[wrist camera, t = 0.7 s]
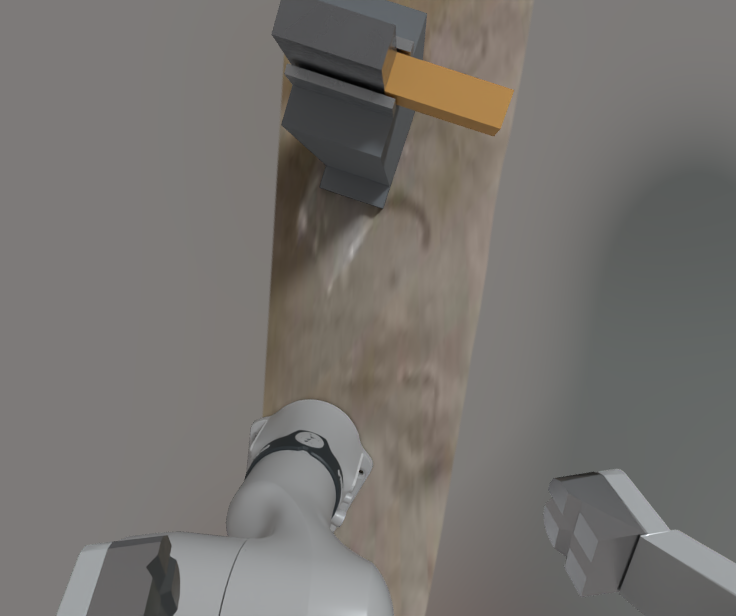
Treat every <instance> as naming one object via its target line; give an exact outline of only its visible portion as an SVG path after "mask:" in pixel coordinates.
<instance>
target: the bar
mask: <svg viewBox="0 0 736 616" xmlns="http://www.w3.org/2000/svg"><path fill="white" fill-rule="evenodd" d="M272 36H273V37H274V39H275V40H276V42H277V43H278V45H279V46H280V48H281V49H282V51H283V52H284V54H285V55H286V57H287V58H288V60H289V61H290V63H291V64H292V65H293V66H296V67H300V68H303V69H306V70H309V71H312V72H315V73H318V74H321V75H324V76H327V77H330V78H333V79H336V80H339V81H342V82H345V83H349V84H352V85H355V86H358V87H361V88H364V89H367V90H370V91H373V92H376V93H379V94H382V95H385V96H388V97H391V98H394V99H396V105H399V106H402V107H405V108H408V109H411V110H414V111H417V112H420V113H423V114H426V115H430V116H433V117H436V118H439V119H442V120H445V121H448V122H451V123H454V124H457V125H460V126H463V127H466V128H469V129H472V130H475V131H478V132H481V133H485V134H488V135H491V136H495V134H496V133H497V132H498V131H499V130H500V129H501V126H502V123H503V120H504V117H505V115H506V112H507V109H508V106H509V103H510V101H511V98H512V95H513V92H514V90H512V89H509V88H506V87H503V86H500V85H497V84H494V83H491V82H488V81H485V80H481V79H478V78H475V77H472V76H469V75H466V74H463V73H460V72H457V71H454V70H451V69H447V68H444V67H441V66H438V65H435V64H432V63H429V62H426V61H423V60H420V59H417V58H414V57H410V56H407V55H404V54H401V53H398V52H397V42H396V25H394V24H390V23H387V22H384V21H381V20H378V19H375V18H372V17H369V16H366V15H363V14H359V13H356V12H353V11H350V10H347V9H344V8H341V7H338V6H335V5H332V4H328V3H325V2H322V1H319V0H281V2H280V6H279V10H278V13H277V16H276V20H275V24H274V27H273V31H272Z"/></svg>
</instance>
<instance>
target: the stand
mask: <svg viewBox="0 0 736 616" xmlns="http://www.w3.org/2000/svg"><path fill="white" fill-rule="evenodd" d="M319 1H322V2H325V3H328V4H332V5H335V6H338V7H341V8H344V9H347V10H350V11H353V12H356V13H359V14H363V15H366V16H369V17H372V18H375V19H378V20H381V21H384V22H387V23H390V24H394V25H396V42H397V52H398V53H401V54H404V55H407V56H410V57H414V58H417V59H420V60H423V51H424V40H425V29H426V18H427V13H424V12H421V11H418V10H415V9H412V8H409V7H406V6H402V5H399V4H396V3H393V2H390V1H387V0H319ZM284 74H285V75H286V77H287V78H288V79H289V81H290V82H291V83H292V85H293V86H292V90H291V93H290V97H289V100H288V103H287V107H286V110H285V114H284V117H283V121H282V124H281V125H282V126H283V127H284V128H285V129H286V130H288V131H289V132H290V133H291V134H292V135H293V136H294V137H295V138H296V139H298V140H299V141H300V142H301V143H302V144H303V145H304V146H305V147H306V148H307V149H309V150H310V151H311V152H312V153H313V154H314V155H315V156H316V157H317V158H319V159H320V160H321V161H322V162H323V163H324V164H325V165H326V167H325V171H324V174H323V177H322V180H321V184H320V188H322V189H325V190H328V191H331V192H334V193H337V194H340V195H343V196H346V197H349V198H352V199H355V200H358V201H361V202H364V203H367V204H370V205H373V206H376V207H379V208H382V209H383V208H384V205H385V201H386V198H387V195H388V192H389V189H390V186H391V183H392V180H393V177H394V174H395V171H396V168H397V165H398V162H399V159H400V156H401V153H402V150H403V147H404V144H405V141H406V138H407V135H408V131H409V128H410V125H411V122H412V119H413V116H414V113H415V111H414V110H411V109H408V108H405V107H402V106H399V105H396V99H394V98H391V97H388V96H385V95H382V94H379V93H376V92H373V91H370V90H367V89H364V88H361V87H358V86H355V85H352V84H349V83H345V82H342V81H339V80H336V79H333V78H330V77H327V76H324V75H321V74H318V73H315V72H312V71H309V70H306V69H303V68H300V67H296V66H293V65H290V64H287V66H286V70H285V73H284Z"/></svg>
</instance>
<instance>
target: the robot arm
mask: <svg viewBox="0 0 736 616" xmlns="http://www.w3.org/2000/svg"><path fill="white" fill-rule="evenodd" d="M256 434H258V435H257V436H256ZM372 467H373V461H372V459H371V457H370V456H369V455H368V453H367V452H366V451H365V450H364V449H363V447H362V445H361V442H360V438H359V435H358V432H357V429H356V427H355V425H354V424H353V422H352V421H351V419H350V418H349V417H348V416H347V415H346V414H345V413H344V412H343V411H342V410H340V409H339V408H337V407H336V406H334V405H332V404H330V403H327V402H324V401H320V400H300V401H296V402H293V403H291V404H288V405H287V406H285V407H283V408H282V409H281V410H279V411H278V412H277V413H275V414H274V415H272V416H269V417H264V418H261V419H258V420H256V421H254V422H253V424H252V426H251V430H250V441H249V452H248V462H247V472H246V476H245V481H244V482H243V484H242V485H241V487H240V488H239V490H238V492H237V493H236V494H235V496H234V497H233V499H232V501H231V503H230V506H229V509H228V514H227V519H226V529H227V535H228V537H227V536H218V535H209V534H199V533H189V532H181V531H177V532H166V533H153V534H145V535H138V536H130V537H125V538H123V539H121V540H119V541H114V542H106V543H100V544H92V545H86V546H85V547H84V548H83V550H82V551H81V552H80V554H79V556H78V559H77V561H76V563H75V566H74V569H73V571H72V574H71V577H70V579H69V582H68V585H67V587H66V590H65V592H64V595H63V598H62V600H61V603H60V605H59V608H58V611H57V613H56V616H394V611H393V605H392V600H391V596H390V593H389V590H388V587H387V585H386V582H385V580H384V578H383V576H382V575H381V573H380V572H379V570H378V569H377V567H376V566H375V565H374V564H373V563H372V562H371V561H369V560H367V559H365V558H363V557H361V556H360V555H358V554H356V553H355V552H353V551H352V550H350V549H349V548H348V547H346V546H345V545H344V544H343V543H342V542H341V541H340V540H339V539H338V538H337V537H336V536H335V535H334V533H333V532H334V531H335V529H336V528H337V527H340V526H341V524H342V523H343V521H344V518H345V516H346V511H347V509H348V508H349V506H350V505H351V503H352V501H353V500H354V498H355V496H356V495H357V493H358V491H359V490H360V488H361V486H362V485H363V483H364V482H365V480H366V478H367V477H368V475H369V473H370V472H371V470H372ZM359 470H362V471H363V473H359ZM548 490H549V492H550V494H551V496H552V498H551V499H550V500H549V501H548V502H547V503H546V504H545V508H544V514H543V516H544V523H545V528H546V531H547V534H548V537H549V539H550V541H551V543H552V545H553V547H554V548H555V549H556V550H557V551H559V552H560V553H562V554H563V555H564V556H566V561H565V569H566V571H567V573H568V575H569V577H570V579H571V580H572V582H573V584H574V586H575V588H576V590H577V591H578V593H579V595H580V597H585V596H592V595H599V594H606V593H613V592H619V591H620V592H619V594H620V595H621V596H622V597H623V598H624V599H626V600H627V601H628V602H629V603H630V604H631V605H633V606H634V607H635V608H636V609H637V610H639V611H640V612H641V613H642V614H644V615H645V616H736V563H734V562H732V561H731V560H729V559H727V558H726V557H724V556H722V555H720V554H719V553H717V552H715V551H713V550H712V549H710V548H708V547H707V546H705V545H703V544H701V543H700V542H698V541H696V540H694V539H693V538H691V537H689V536H687V535H686V534H684V533H682V532H680V531H679V530H670V529H669V528H668V526H666V524H665V523H664V521H663V520H662V519H661V518H660V516H659V515H658V514H657V513H656V511H655V510H654V509H653V508H652V506H651V505H650V504H649V503H648V501H647V500H646V499H645V497H644V496H643V495H642V494H641V492H640V491H639V490H638V489H637V487H636V486H635V485H634V484H633V483H632V481H631V480H630V479H629V478H628V476H627V475H626V474H625V473H624V472H623V471H622V470H620V469H612V470H605V471H599V472H588V473H582V474H576V475H570V476H563V477H557V478H553V480H552V481H551V482H550V485H549V489H548Z"/></svg>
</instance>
